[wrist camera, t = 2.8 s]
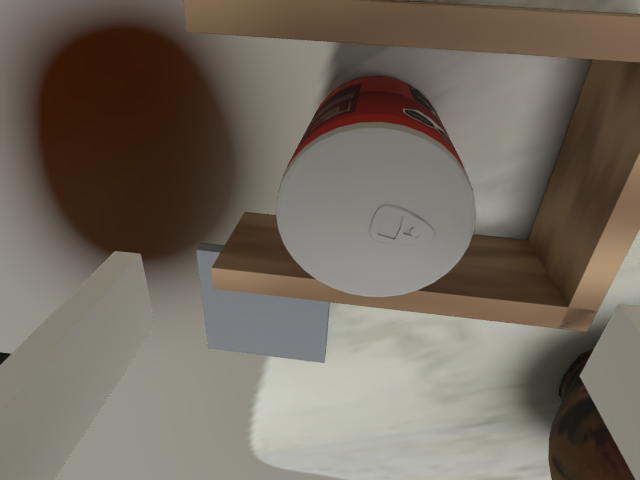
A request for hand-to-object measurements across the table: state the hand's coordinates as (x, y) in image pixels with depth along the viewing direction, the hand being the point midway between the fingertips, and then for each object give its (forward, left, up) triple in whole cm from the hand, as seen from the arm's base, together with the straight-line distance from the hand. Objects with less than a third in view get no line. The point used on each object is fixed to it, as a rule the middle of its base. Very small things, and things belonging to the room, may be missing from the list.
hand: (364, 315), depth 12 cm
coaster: (+14, -7, -16) cm, 23 cm away
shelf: (0, +2, -16) cm, 16 cm away
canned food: (0, 0, -17) cm, 17 cm away
